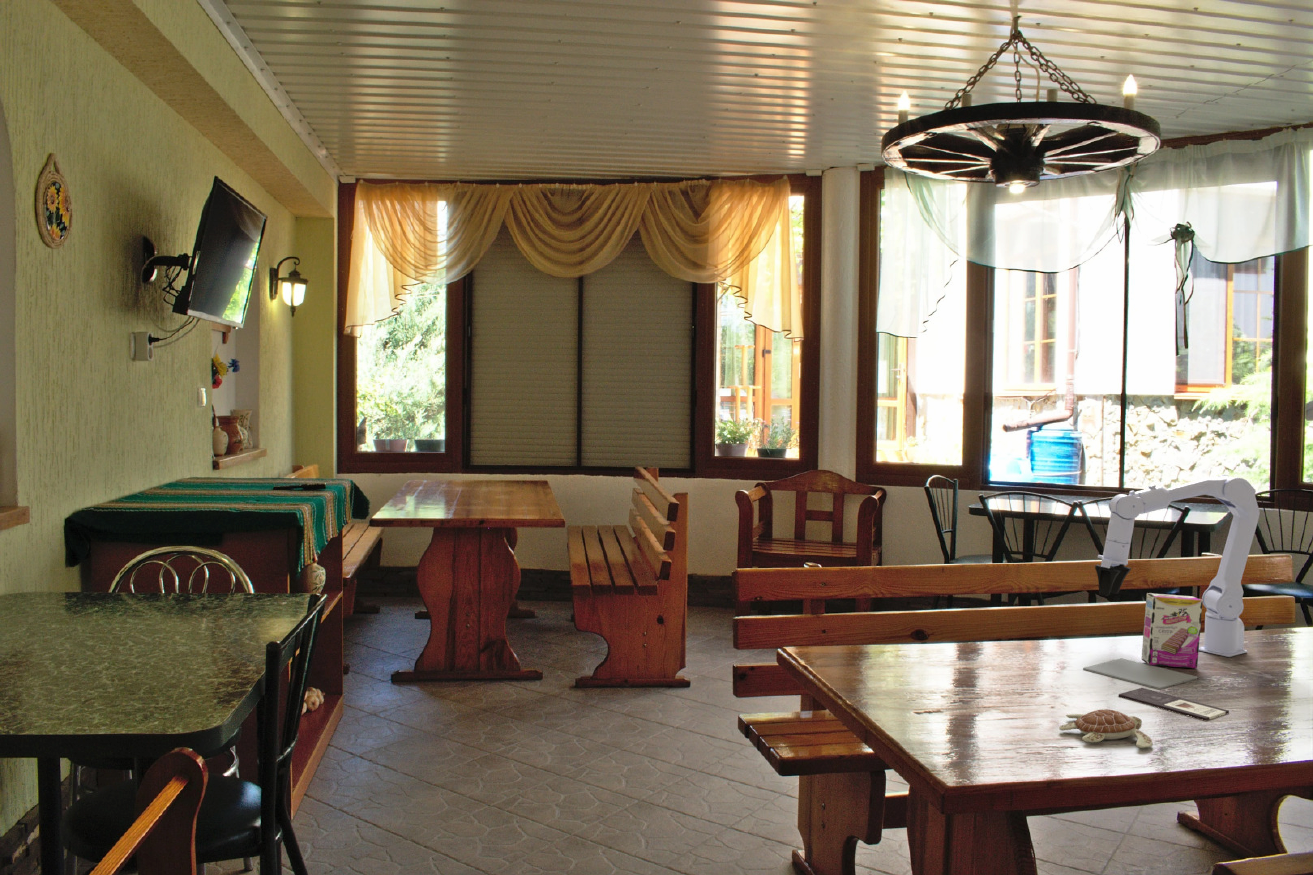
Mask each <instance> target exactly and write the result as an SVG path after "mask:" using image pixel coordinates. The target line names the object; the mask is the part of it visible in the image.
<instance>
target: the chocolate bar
mask: <svg viewBox="0 0 1313 875" xmlns="http://www.w3.org/2000/svg"><path fill="white" fill-rule="evenodd" d="M1118 697H1119V698H1122V699H1126V700H1130V701H1133V702H1137V703H1140V704H1144V705H1146V706H1147V705H1148V706H1150V707H1151V706H1152V707H1154V706H1155V707H1154V708H1158V707H1159V708H1158V709H1161V708H1162V710H1164V711H1168V710H1170V711H1169V712H1172V711H1173V712H1172V713H1175V712H1176V713H1177V714H1179V713H1180V715H1182V716H1186V715H1189V716H1188V717H1190V716H1192V717H1191V718H1193V717H1194V719H1197V720H1200V719H1203V720H1202V721H1204V720H1207V721H1210V720H1213V719H1215V718H1219V717H1222V716H1224V715H1227V713H1228V714H1230V710H1228V709H1225V708H1222V707H1217V706H1215V705H1214V706H1213V705H1210V704H1209V705H1208V704H1205V703H1201V702H1198V701H1195V700H1190V699H1188V698H1182V697H1179V696H1175V695H1171V694H1168V693H1164V692H1160V691H1156V690H1152V689H1148V688H1146V687H1139V688H1136V689H1132V690H1129V691H1124V692H1122V693H1119V694H1118ZM1176 713H1175V714H1176ZM1221 715H1222V716H1221ZM1218 716H1219V717H1218ZM1209 719H1210V720H1209Z"/></svg>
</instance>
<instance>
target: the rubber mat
mask: <svg viewBox="0 0 1313 875" xmlns="http://www.w3.org/2000/svg"><path fill="white" fill-rule="evenodd" d="M1082 670H1083V671H1087V672H1092V673H1096V674H1100V675H1103V676H1106V677H1110V678H1114V679H1118V680H1120V681H1121V680H1122V681H1126V682H1130V683H1134V684H1137V685H1141V686H1145V687H1149V688H1153V689H1156V690H1163V689H1166V688H1170V687H1173V685H1174V686H1177V685H1180V684H1183V682H1184V683H1186V682H1190V681H1194V680H1197V678H1198V676H1196V675H1191V674H1189V673H1184V672H1179V671H1176V670H1171V669H1167V668H1165V667H1163V668H1162V667H1161V666H1160V667H1159V666H1157V665H1149V664H1147V663H1142V662H1139V661H1135V660H1132V659H1127V658H1122V657H1121V658H1118V659H1112V660H1109V661H1105V662H1101V663H1098V664H1093V665H1089V666H1085V667H1082Z"/></svg>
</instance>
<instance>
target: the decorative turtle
mask: <svg viewBox="0 0 1313 875" xmlns="http://www.w3.org/2000/svg"><path fill="white" fill-rule="evenodd" d="M1065 716H1066V718H1068V719H1075V720H1074V722H1071V723H1066V724H1062V725H1060V726H1059V727H1058V729H1059V730H1060V731H1069V730H1079V731H1080V732H1081V734H1082V735H1084V736H1082V740H1083V741H1085V742H1087V743H1100V742H1101V741H1103V740H1119V739H1124V738H1128V737H1131V736H1132V735H1133V736H1134V737H1135V738H1136V740H1137V741H1136V744H1135V745H1136V747H1137V748H1140V749H1144V748H1150V747H1152V746H1153V745H1154V743H1153V740H1152V738H1151V737H1150V736H1148V735H1147V734H1146V733H1144V732H1142V731H1141V730H1140V729H1141V728H1142V724H1143V723H1142V722H1143V721H1142V719H1141V718H1139V717H1137V716H1131V715H1130V716H1129V715H1128V714H1127V715H1126V714H1124V713H1122V712H1121V711H1118V710H1113V709H1108V708H1107V709H1096V710H1094V711H1093V710H1092V711H1089V712H1088V713H1085V714H1084V713H1083V714H1082V713H1081V714H1080V713H1074V714H1073V713H1072V714H1070V713H1069V714H1065Z"/></svg>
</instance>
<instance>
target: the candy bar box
mask: <svg viewBox="0 0 1313 875" xmlns="http://www.w3.org/2000/svg"><path fill="white" fill-rule="evenodd" d="M1202 611H1203V601H1202V598H1201V599H1200V598H1198V597H1195V596H1192V595H1191V596H1190V595H1176V594H1164V593H1152V592H1149V593H1148V592H1146V597H1145V609H1144V619H1143V620H1144V624H1143V635H1142V636H1143V637H1142V648H1141V649H1142V650H1141V661H1142V662H1144V663H1145V664H1147V665H1151V666H1158V667H1159V666H1160V667H1161V666H1162V667H1171V668H1173V667H1175V668H1186V669H1187V668H1190V669H1198V663H1199V647H1200V638H1201V625H1202Z"/></svg>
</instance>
